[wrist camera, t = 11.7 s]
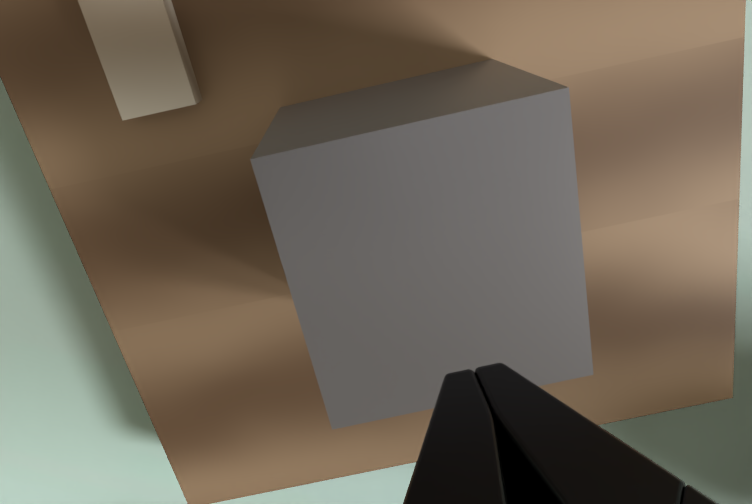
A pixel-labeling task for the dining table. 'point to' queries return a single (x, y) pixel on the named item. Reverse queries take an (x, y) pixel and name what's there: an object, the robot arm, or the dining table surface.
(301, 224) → the grey rectangular block
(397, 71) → the brown wooden flat slab
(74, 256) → the dining table surface
